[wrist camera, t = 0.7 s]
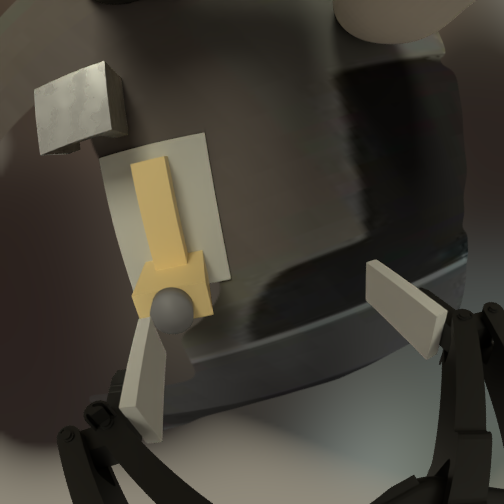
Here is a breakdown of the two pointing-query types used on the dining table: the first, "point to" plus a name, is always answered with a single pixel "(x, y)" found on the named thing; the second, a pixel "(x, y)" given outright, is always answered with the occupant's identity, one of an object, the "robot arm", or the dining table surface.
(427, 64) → the dining table surface
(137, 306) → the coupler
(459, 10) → the vase
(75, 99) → the grey slotted block
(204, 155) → the mat
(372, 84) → the dining table surface
